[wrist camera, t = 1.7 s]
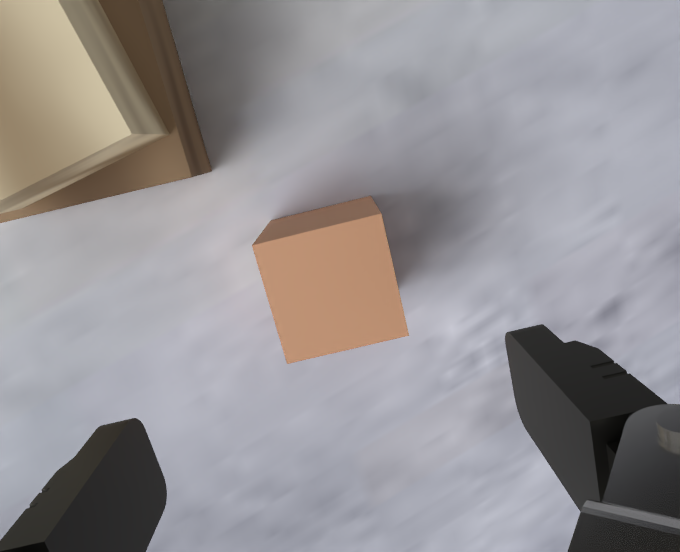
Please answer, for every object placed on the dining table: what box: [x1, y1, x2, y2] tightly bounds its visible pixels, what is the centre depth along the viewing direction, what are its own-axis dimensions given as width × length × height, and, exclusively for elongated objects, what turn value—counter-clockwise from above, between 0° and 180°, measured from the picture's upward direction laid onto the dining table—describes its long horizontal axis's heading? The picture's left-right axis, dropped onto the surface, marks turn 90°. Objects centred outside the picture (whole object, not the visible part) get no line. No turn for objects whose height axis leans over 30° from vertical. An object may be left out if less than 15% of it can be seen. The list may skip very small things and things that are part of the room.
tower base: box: [0, 0, 212, 223], centre depth 22 cm, size 9×9×4 cm
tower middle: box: [0, 0, 170, 214], centre depth 18 cm, size 7×7×4 cm
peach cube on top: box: [252, 196, 409, 364], centre depth 23 cm, size 5×5×6 cm
